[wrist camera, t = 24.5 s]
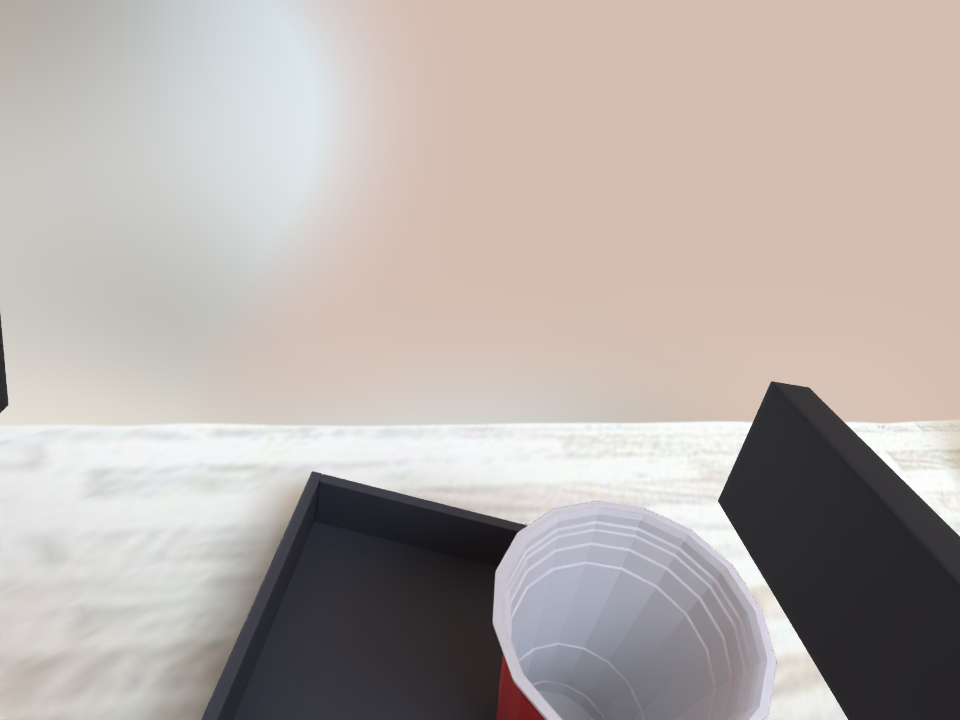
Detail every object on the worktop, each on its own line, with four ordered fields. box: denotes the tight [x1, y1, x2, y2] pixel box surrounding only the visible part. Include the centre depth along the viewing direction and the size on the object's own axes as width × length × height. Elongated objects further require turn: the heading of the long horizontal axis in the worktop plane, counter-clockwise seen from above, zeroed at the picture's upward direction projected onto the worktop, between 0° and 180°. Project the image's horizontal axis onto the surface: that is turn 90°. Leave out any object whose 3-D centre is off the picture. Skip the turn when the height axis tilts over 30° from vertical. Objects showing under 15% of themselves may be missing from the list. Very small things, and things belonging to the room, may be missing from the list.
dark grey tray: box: [202, 472, 527, 720], centre depth 34 cm, size 22×16×4 cm
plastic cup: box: [493, 501, 777, 720], centre depth 30 cm, size 11×11×12 cm
